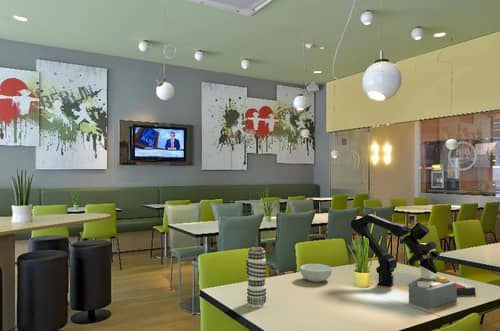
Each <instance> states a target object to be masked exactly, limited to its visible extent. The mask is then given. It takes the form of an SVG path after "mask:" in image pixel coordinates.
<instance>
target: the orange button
mask: <svg viewBox="0 0 500 331" xmlns="http://www.w3.org/2000/svg"><path fill="white" fill-rule="evenodd" d="M435 278H436V282H440V283H448V281H449V279H448V277H445V276H435Z"/></svg>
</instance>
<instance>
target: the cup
mask: <svg viewBox="0 0 500 331" xmlns="http://www.w3.org/2000/svg"><path fill="white" fill-rule="evenodd" d="M419 243H420V242H419ZM420 244H424V245H425V244H426V243H425V242H424V243H422V242H421V243H420ZM431 251H437V250H436V249H433V250H430V252H431ZM430 252H429V253H430ZM429 253H428V254H429ZM417 262H418V267H419V272H420V277H421V279H425V280H429V279H432V273H433V272H431V271H429V270H427V269H426V268H423V267H421V266H419V264H420V263H419V261H417ZM433 262H435V260H434V261H433Z"/></svg>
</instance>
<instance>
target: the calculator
mask: <svg viewBox="0 0 500 331" xmlns="http://www.w3.org/2000/svg"><path fill="white" fill-rule="evenodd" d="M455 282H456V286H457V296H458V297H461V296H476V294H477V293H476V287H474V286H473V285H470V284H468V283H465V282H462V281H455Z"/></svg>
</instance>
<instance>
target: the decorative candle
mask: <svg viewBox="0 0 500 331" xmlns="http://www.w3.org/2000/svg"><path fill="white" fill-rule="evenodd" d="M266 252H267V251H266V250H265V249H264V247H262V246H252V247H250V248H249V249H248V250H247V260H246V261H245V262H246V263H245V264H246V268H245V269H246V278H247V288H246V294H247V296H246V303H247V304H248V305H249V306H252V307H251V308H254V307H260V308H263V306H264V307H266V306H267V296H266V295H267V292H266V291H267V288H266V279H267V275H266V274H267V271H265V270H267V269H268V267H267V264H268V263H266ZM248 305H247V306H248ZM265 305H266V306H265ZM249 306H248V307H249Z"/></svg>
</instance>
